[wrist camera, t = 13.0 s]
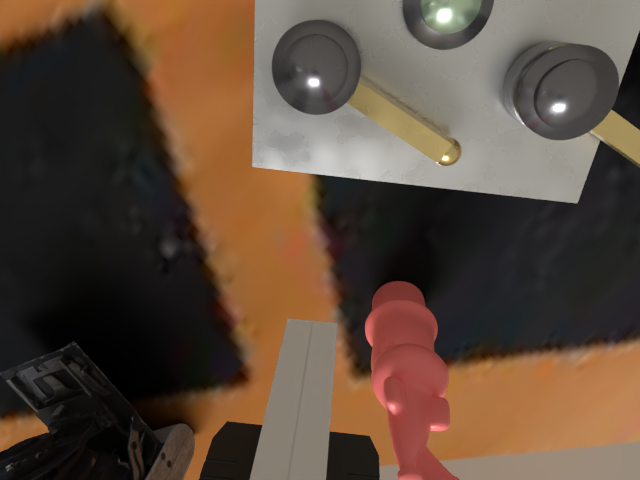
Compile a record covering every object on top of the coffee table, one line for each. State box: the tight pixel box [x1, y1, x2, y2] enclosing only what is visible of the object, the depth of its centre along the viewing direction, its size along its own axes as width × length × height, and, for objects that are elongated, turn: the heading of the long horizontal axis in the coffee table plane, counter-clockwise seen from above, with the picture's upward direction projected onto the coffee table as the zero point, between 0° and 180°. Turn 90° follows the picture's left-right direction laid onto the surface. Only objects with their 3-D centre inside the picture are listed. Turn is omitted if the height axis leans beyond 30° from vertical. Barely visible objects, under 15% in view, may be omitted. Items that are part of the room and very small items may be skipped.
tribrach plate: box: [252, 0, 640, 203], centre depth 24 cm, size 20×20×4 cm
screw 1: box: [272, 19, 462, 166], centre depth 24 cm, size 11×4×4 cm, turn 58°
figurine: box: [365, 281, 459, 480], centre depth 28 cm, size 5×5×15 cm
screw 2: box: [503, 41, 640, 168], centre depth 23 cm, size 11×4×4 cm, turn 58°
